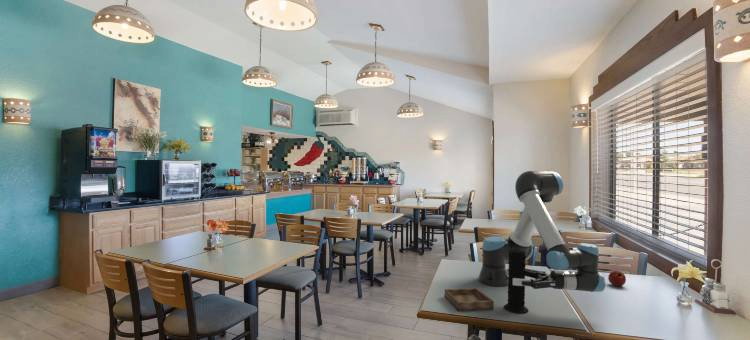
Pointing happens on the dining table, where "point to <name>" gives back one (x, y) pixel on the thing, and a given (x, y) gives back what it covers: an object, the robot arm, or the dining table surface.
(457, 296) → the tray
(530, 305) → the dining table surface
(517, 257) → the handle grip
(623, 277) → the apple
